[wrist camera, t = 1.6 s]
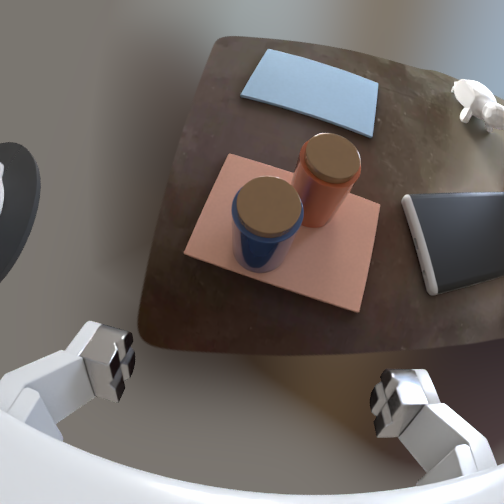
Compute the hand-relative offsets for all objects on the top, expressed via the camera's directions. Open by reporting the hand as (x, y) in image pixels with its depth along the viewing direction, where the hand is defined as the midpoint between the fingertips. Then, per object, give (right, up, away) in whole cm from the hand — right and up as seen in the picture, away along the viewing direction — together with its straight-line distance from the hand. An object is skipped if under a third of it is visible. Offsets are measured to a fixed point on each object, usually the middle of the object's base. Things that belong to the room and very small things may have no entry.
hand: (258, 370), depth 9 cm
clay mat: (+4, +6, +27) cm, 28 cm away
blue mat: (+10, +29, +35) cm, 47 cm away
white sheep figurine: (+43, +30, +37) cm, 64 cm away
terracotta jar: (+7, +9, +27) cm, 29 cm away
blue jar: (+1, +4, +25) cm, 26 cm away
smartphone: (+33, +6, +28) cm, 44 cm away
